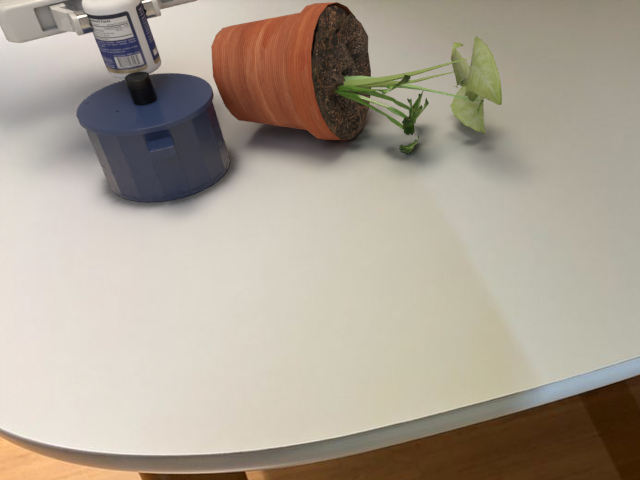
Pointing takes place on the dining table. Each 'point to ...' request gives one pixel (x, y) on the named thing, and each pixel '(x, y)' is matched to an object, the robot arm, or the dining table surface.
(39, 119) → the dining table surface
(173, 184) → the pot
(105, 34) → the pill bottle
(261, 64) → the potted plant
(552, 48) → the dining table surface
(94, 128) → the pot lid
